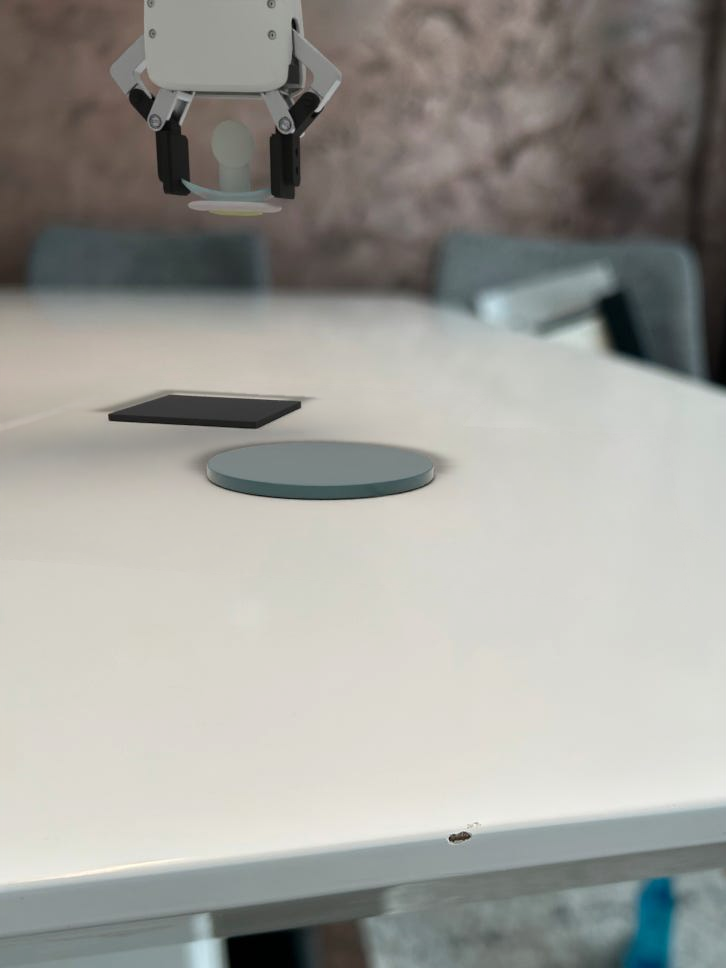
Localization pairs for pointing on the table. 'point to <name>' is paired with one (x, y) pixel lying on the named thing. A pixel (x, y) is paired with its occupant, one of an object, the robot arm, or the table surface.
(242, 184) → the pacifier
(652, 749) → the table surface
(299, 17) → the robot arm
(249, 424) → the mat
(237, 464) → the plate
